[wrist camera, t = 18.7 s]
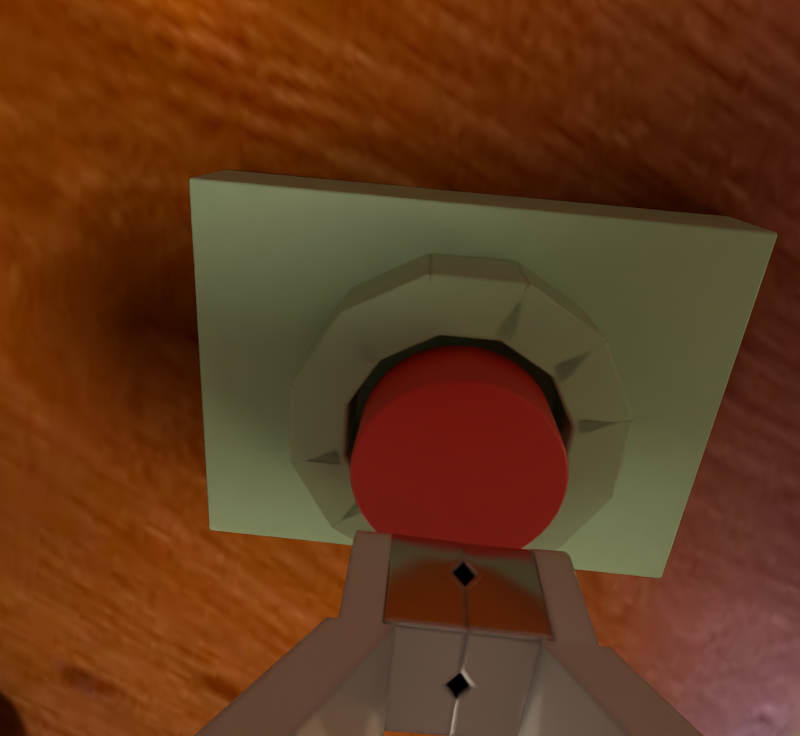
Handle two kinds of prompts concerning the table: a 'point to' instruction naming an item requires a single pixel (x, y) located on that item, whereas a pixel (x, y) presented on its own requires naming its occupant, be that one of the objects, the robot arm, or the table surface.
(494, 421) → the button
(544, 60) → the table surface
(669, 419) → the button box
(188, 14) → the table surface
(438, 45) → the table surface
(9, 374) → the table surface
